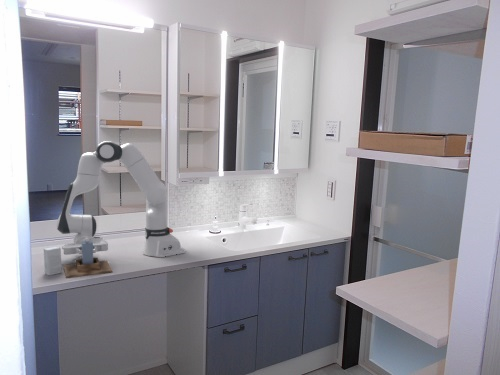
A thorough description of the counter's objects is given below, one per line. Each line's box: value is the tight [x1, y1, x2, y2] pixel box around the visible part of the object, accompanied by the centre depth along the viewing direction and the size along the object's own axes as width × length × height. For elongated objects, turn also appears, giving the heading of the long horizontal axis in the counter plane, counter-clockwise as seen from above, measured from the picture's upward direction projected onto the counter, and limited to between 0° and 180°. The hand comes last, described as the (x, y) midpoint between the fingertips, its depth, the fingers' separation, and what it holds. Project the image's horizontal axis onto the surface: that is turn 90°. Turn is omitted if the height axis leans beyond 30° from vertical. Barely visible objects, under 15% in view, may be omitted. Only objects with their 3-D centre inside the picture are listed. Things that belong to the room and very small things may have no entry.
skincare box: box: [43, 245, 62, 277], centre depth 190 cm, size 6×4×12 cm
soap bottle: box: [81, 238, 94, 265], centre depth 196 cm, size 4×4×13 cm
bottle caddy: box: [63, 257, 113, 279], centre depth 197 cm, size 20×16×4 cm
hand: (87, 251), depth 195 cm, fingers closed on soap bottle, 4 cm apart
